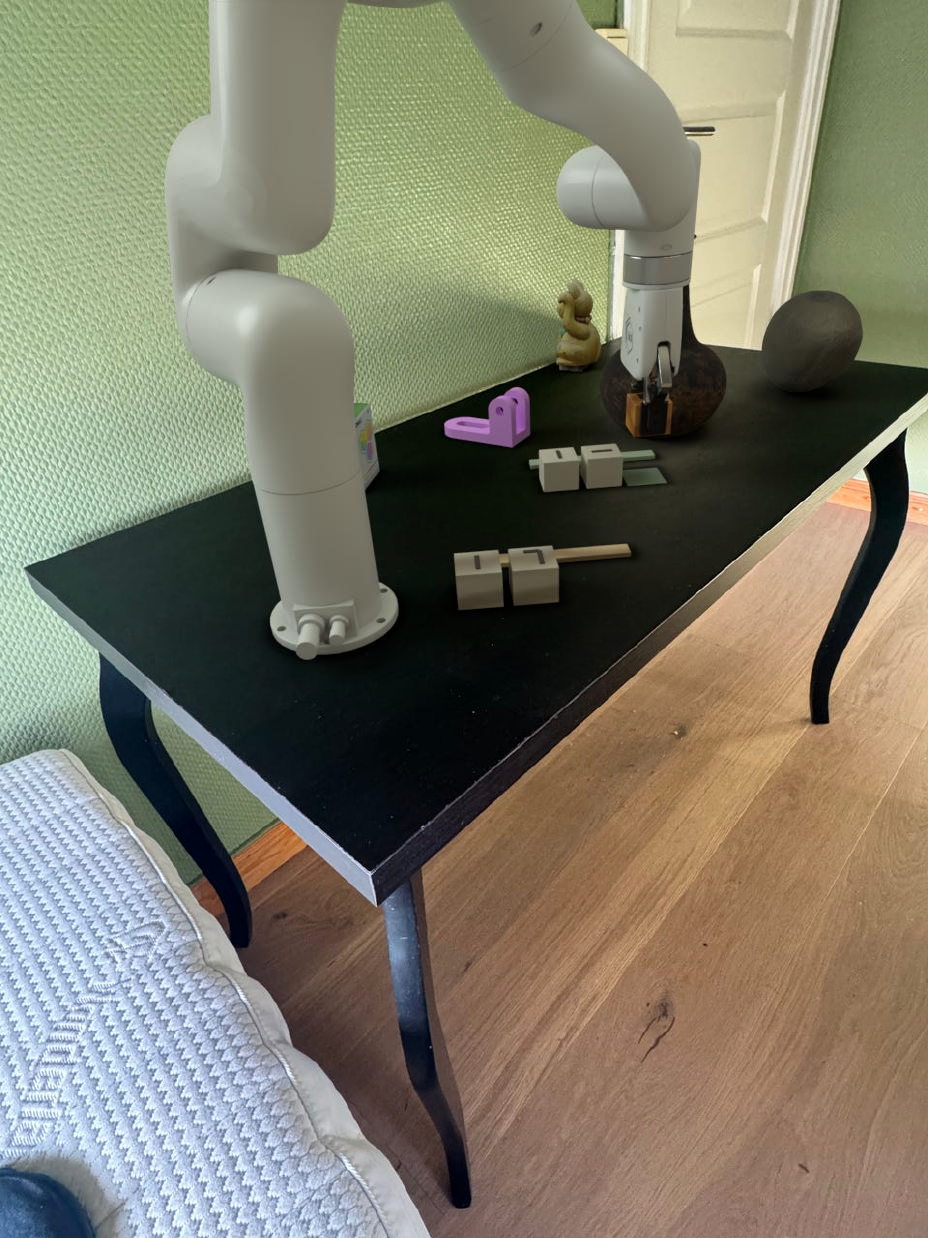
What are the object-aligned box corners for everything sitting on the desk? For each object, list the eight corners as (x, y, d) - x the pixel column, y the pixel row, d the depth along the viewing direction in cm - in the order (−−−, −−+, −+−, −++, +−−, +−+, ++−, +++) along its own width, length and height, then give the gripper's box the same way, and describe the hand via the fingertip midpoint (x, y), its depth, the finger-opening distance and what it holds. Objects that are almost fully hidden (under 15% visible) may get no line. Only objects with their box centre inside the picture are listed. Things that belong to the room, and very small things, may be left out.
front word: (648, 594, 76) (651, 558, 73) (458, 610, 76) (455, 574, 73) (626, 548, 84) (628, 514, 82) (455, 562, 84) (452, 529, 82)
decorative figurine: (560, 359, 147) (560, 275, 139) (603, 359, 145) (606, 274, 137) (552, 373, 140) (551, 286, 131) (597, 374, 138) (600, 285, 129)
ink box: (365, 492, 101) (350, 392, 94) (337, 492, 102) (319, 392, 94) (380, 471, 107) (367, 375, 99) (353, 471, 107) (338, 375, 100)
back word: (670, 482, 97) (673, 452, 95) (538, 493, 97) (537, 463, 95) (651, 453, 105) (653, 424, 103) (529, 463, 105) (528, 435, 103)
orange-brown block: (670, 434, 94) (672, 401, 92) (633, 437, 94) (635, 404, 92) (660, 421, 98) (662, 389, 95) (625, 424, 98) (627, 392, 95)
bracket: (530, 434, 115) (529, 388, 111) (512, 447, 111) (510, 399, 107) (457, 423, 121) (454, 379, 117) (438, 435, 117) (434, 390, 113)
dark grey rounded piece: (751, 402, 120) (765, 301, 111) (759, 376, 130) (773, 282, 122) (850, 408, 115) (873, 303, 106) (849, 380, 125) (870, 282, 117)
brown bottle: (679, 401, 123) (696, 204, 107) (747, 436, 108) (779, 215, 93) (577, 420, 119) (581, 218, 103) (634, 459, 104) (648, 232, 89)
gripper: (608, 259, 92) (603, 407, 103) (641, 286, 78) (632, 454, 89) (669, 254, 92) (659, 402, 103) (714, 280, 78) (696, 449, 89)
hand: (647, 425), depth 95 cm, fingers closed on orange-brown block, 4 cm apart
